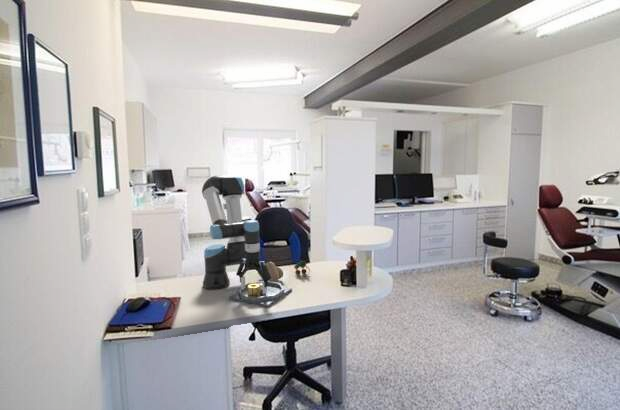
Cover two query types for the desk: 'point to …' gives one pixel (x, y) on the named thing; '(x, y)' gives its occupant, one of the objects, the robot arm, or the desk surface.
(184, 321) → the desk surface
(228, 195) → the robot arm
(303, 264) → the binoculars
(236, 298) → the tray
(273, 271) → the brown rounded piece
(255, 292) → the planet gear
